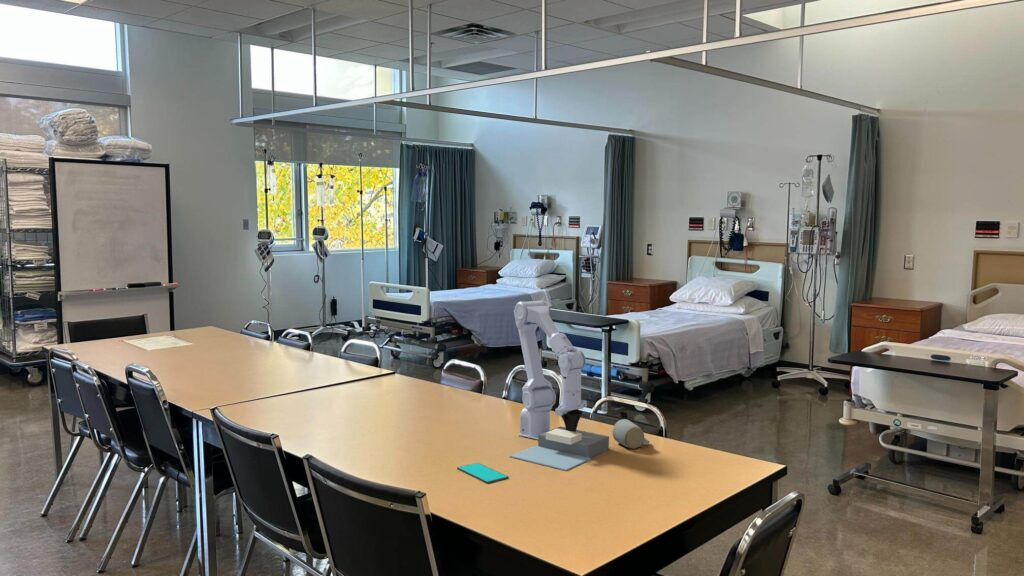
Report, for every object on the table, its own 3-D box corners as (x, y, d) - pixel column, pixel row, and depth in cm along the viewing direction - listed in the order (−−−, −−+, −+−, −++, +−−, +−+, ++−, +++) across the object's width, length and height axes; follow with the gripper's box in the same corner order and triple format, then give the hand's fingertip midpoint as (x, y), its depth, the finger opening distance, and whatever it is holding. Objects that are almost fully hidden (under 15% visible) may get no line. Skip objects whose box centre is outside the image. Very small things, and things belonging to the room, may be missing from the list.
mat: (509, 457, 220) (509, 455, 220) (535, 446, 230) (535, 445, 230) (566, 471, 208) (566, 469, 208) (590, 459, 218) (590, 458, 218)
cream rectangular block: (545, 439, 224) (545, 432, 224) (556, 434, 229) (556, 428, 229) (570, 444, 219) (570, 437, 219) (581, 439, 224) (581, 433, 224)
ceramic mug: (625, 451, 226) (625, 426, 225) (611, 443, 234) (612, 419, 233) (654, 448, 230) (655, 423, 229) (640, 440, 238) (641, 417, 237)
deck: (538, 447, 229) (538, 434, 229) (560, 438, 239) (560, 426, 239) (587, 458, 218) (588, 445, 218) (608, 449, 228) (609, 436, 228)
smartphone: (487, 482, 197) (456, 467, 209) (487, 485, 197) (456, 470, 209) (509, 476, 202) (478, 462, 214) (509, 479, 202) (478, 465, 214)
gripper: (569, 396, 218) (569, 442, 219) (595, 388, 229) (594, 431, 230) (549, 393, 222) (549, 437, 223) (576, 385, 234) (575, 427, 235)
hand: (571, 434), depth 227 cm, fingers closed
